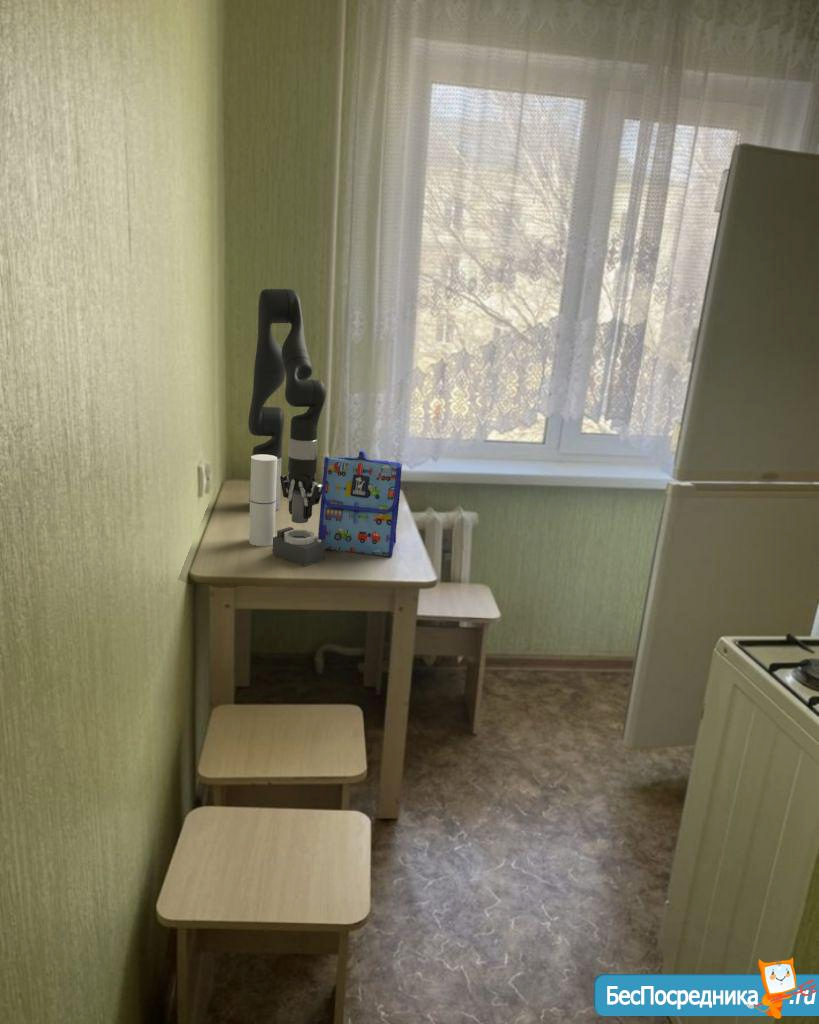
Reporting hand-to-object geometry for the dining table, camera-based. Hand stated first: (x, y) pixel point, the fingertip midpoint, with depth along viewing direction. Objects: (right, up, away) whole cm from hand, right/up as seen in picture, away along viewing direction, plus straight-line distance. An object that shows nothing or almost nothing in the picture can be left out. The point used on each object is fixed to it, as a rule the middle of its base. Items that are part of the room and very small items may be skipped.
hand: (300, 515), depth 207 cm
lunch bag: (+15, -9, +16) cm, 23 cm away
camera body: (-1, -11, +4) cm, 12 cm away
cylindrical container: (-13, -8, +12) cm, 19 cm away
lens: (0, -1, 0) cm, 1 cm away
